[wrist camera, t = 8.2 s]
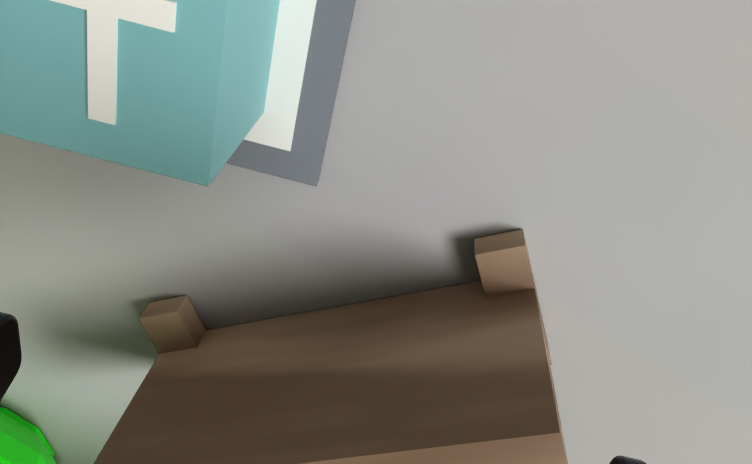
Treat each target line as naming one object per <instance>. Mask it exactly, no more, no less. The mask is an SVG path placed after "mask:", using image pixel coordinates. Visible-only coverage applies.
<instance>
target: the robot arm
mask: <svg viewBox="0 0 752 464" xmlns="http://www.w3.org/2000/svg"><path fill="white" fill-rule="evenodd" d="M20 364H21V346H20V337H19V329H18V322H17V320H16V318H15V317H14V316H12V315H10V314H6V313H2V312H0V401H1V399H2V398H3V396H4V394H5V393H6V391H7V389H8V388H9V386H10V384H11V382H12V381H13V379H14V377H15V376H16V374H17V372H18V370H19V367H20ZM610 464H646V463H645V462H644V461H641V460H638V459H633V458H629V457H625V456H616V457H615V458H613V459H612V461H611V462H610Z"/></svg>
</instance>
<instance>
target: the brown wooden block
mask: <svg viewBox="0 0 752 464" xmlns="http://www.w3.org/2000/svg"><path fill="white" fill-rule="evenodd" d="M474 249H475V258H476V262H477V265H478V269H479V273H480V277H481V280H482V281H477V282H471V283H466V284H460V285H455V286H449V287H444V288H438V289H432V290H427V291H421V292H416V293H410V294H405V295H399V296H394V297H388V298H382V299H377V300H371V301H366V302H360V303H355V304H349V305H343V306H338V307H332V308H327V309H321V310H316V311H310V312H305V313H299V314H293V315H288V316H282V317H277V318H271V319H266V320H260V321H255V322H249V323H243V324H238V325H232V326H227V327H221V328H216V329H210V330H206V329H205V327H204V326H203V324H202V322H201V320H200V318H199V316H198V314H197V313H196V311H195V309H194V307H193V305H192V303H191V301H190V300H189V298H188V296H187V295H185V296H180V297H175V298H170V299H165V300H160V301H154V302H150V303H149V304H148V306H147V307H146V309H145V310H144V312H143V313H142V315H141V316H140V317H139V321H140V322H141V324H142V326H143V327H144V329H145V331H146V332H147V334H148V336H149V337H150V339H151V341H152V343H153V344H154V346H155V348H156V349H157V351H158V353H159V355H158V357H157V359H156V360H155V362H154V364H153V365H152V367H151V369H150V370H149V372H148V374H147V375H146V377H145V379H144V380H143V382H142V384H141V385H140V387H139V389H138V390H137V392H136V394H135V395H134V397H133V399H132V400H131V402H130V404H129V405H128V407H127V409H126V410H125V412H124V414H123V415H122V417H121V419H120V420H119V422H118V424H117V425H116V427H115V429H114V430H113V432H112V434H111V435H110V437H109V439H108V440H107V442H106V444H105V445H104V447H103V449H102V450H101V452H100V454H99V455H98V457H97V459H96V461H95V462H94V464H568V462H567V457H566V451H565V445H564V440H563V434H562V429H561V423H560V417H559V412H558V406H557V401H556V395H555V389H554V384H553V378H552V373H551V367H550V365H552V364H551V359H550V353H549V348H548V343H547V338H546V334H545V329H544V324H543V320H542V315H541V311H540V306H539V302H538V297H537V292H536V288H535V283H534V279H533V274H532V270H531V265H530V260H529V256H528V251H527V247H526V242H525V237H524V233H523V229H521V230H516V231H511V232H506V233H501V234H496V235H491V236H485V237H480V238H475V239H474Z"/></svg>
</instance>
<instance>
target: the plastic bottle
mask: <svg viewBox="0 0 752 464" xmlns="http://www.w3.org/2000/svg"><path fill="white" fill-rule="evenodd" d="M54 454H55V453H54V451H53V450H52V448H51V447H50V445H49V443H48V442H47V440H46V439H45V437H44V436H43V434H42V433H41V431H40V430H39V428H38V427H36V426H34V425H33V424H31V423H30V422H28V421H26V420H25V419H23V418H21V417H20V416H18V415H16V414H15V413H13V412H11V411H10V410H8V409H7V408H2V407H0V464H57V463H56V461H55V460H54Z"/></svg>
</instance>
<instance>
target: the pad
mask: <svg viewBox="0 0 752 464" xmlns="http://www.w3.org/2000/svg"><path fill="white" fill-rule="evenodd" d="M355 1H356V0H280V4H279V11H278V18H277V25H276V32H275V39H274V46H273V53H272V60H271V66H270V73H269V80H268V87H267V94H266V101H265V108H264V113H263V114H262V116H261V117H260V118H259V119H258V121H257V122H256V123H255V125H254V126H253V127H252V129H251V130H250V131H249V133H248V134H247V135H246V137H245V138H244V139H243V141H242V142H241V143H240V145H239V146H238V147H237V149H236V150H235V151H234V153H233V154H232V155H231V157H230V158H229V159H228V161H227V162H226V163H228V164H231V165H235V166H239V167H243V168H247V169H251V170H255V171H259V172H262V173H266V174H270V175H274V176H278V177H282V178H286V179H289V180H293V181H297V182H301V183H305V184H309V185H313V186H317V183H318V181H319V176H320V171H321V166H322V161H323V157H324V152H325V147H326V142H327V137H328V132H329V127H330V123H331V118H332V113H333V108H334V103H335V98H336V93H337V88H338V84H339V79H340V74H341V69H342V64H343V59H344V54H345V49H346V45H347V40H348V35H349V30H350V25H351V20H352V15H353V11H354V6H355Z"/></svg>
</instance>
